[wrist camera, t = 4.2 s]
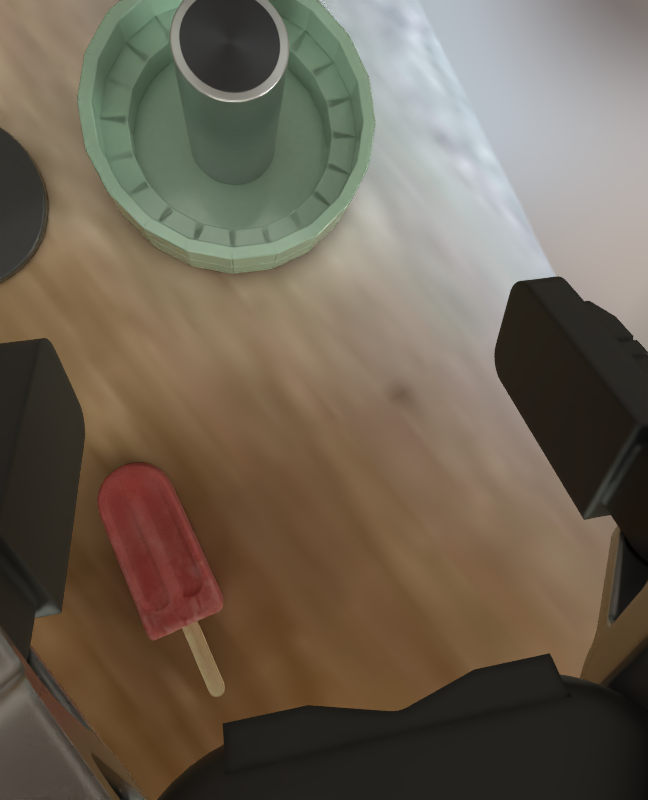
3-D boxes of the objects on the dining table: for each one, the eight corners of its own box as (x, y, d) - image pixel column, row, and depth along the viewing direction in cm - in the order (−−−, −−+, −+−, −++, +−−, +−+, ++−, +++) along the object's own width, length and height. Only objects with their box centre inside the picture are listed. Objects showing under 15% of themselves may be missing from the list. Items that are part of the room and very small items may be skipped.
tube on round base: (280, 181, 34) (297, 97, 24) (196, 188, 33) (178, 105, 24) (254, -5, 34) (261, -168, 24) (169, -2, 33) (139, -169, 23)
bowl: (42, 134, 33) (11, 94, 28) (232, -36, 34) (231, -99, 30) (232, 326, 35) (232, 318, 30) (406, 158, 36) (430, 126, 32)
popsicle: (183, 720, 33) (81, 483, 32) (186, 704, 35) (89, 479, 34) (255, 686, 33) (157, 452, 33) (255, 671, 35) (161, 449, 34)
